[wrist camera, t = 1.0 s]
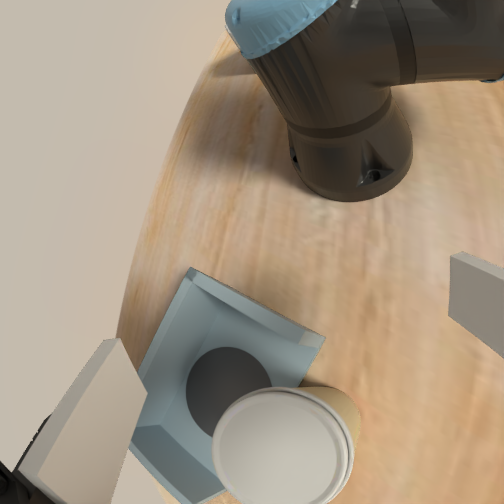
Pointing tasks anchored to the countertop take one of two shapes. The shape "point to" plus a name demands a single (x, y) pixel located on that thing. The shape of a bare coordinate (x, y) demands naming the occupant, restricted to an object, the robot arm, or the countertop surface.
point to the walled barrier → (209, 378)
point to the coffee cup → (286, 445)
